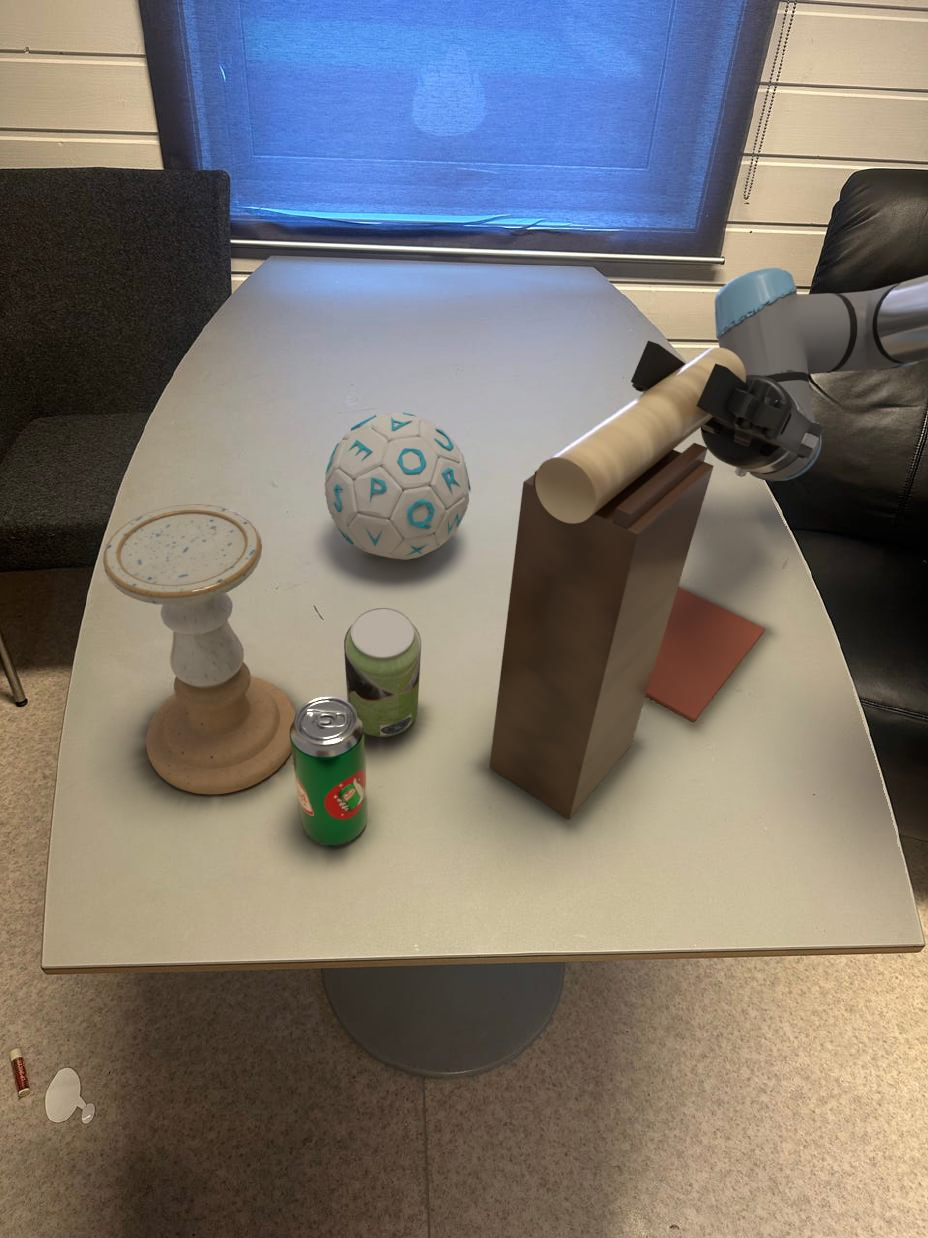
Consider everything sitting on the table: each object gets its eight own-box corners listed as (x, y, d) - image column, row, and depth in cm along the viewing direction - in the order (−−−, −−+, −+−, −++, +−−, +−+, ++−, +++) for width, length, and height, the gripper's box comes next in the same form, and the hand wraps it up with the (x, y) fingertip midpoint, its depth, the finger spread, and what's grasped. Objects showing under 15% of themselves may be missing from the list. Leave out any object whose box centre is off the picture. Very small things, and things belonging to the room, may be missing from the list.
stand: (631, 745, 71) (718, 451, 52) (569, 820, 65) (641, 519, 46) (554, 700, 75) (609, 408, 56) (488, 767, 69) (524, 466, 49)
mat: (764, 631, 83) (765, 628, 83) (693, 722, 74) (694, 719, 74) (659, 580, 89) (660, 577, 88) (580, 659, 79) (581, 656, 79)
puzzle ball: (306, 570, 87) (295, 444, 77) (358, 495, 98) (354, 376, 88) (444, 601, 84) (451, 475, 74) (481, 520, 95) (491, 401, 85)
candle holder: (306, 685, 75) (286, 497, 61) (288, 798, 65) (259, 607, 52) (168, 682, 74) (117, 492, 61) (130, 795, 65) (59, 601, 51)
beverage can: (407, 684, 75) (408, 583, 67) (430, 745, 70) (434, 644, 62) (339, 698, 74) (332, 596, 66) (357, 761, 69) (352, 659, 60)
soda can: (303, 796, 66) (289, 693, 58) (367, 792, 66) (362, 690, 58) (300, 852, 62) (286, 750, 54) (368, 847, 63) (363, 746, 55)
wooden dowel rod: (686, 392, 60) (699, 339, 57) (737, 411, 58) (753, 357, 56) (531, 507, 48) (539, 446, 45) (589, 534, 46) (601, 473, 44)
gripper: (828, 504, 69) (778, 481, 49) (649, 433, 76) (541, 388, 56) (873, 417, 67) (839, 357, 47) (684, 353, 74) (585, 277, 54)
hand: (677, 374), depth 52 cm, fingers closed on wooden dowel rod, 4 cm apart
